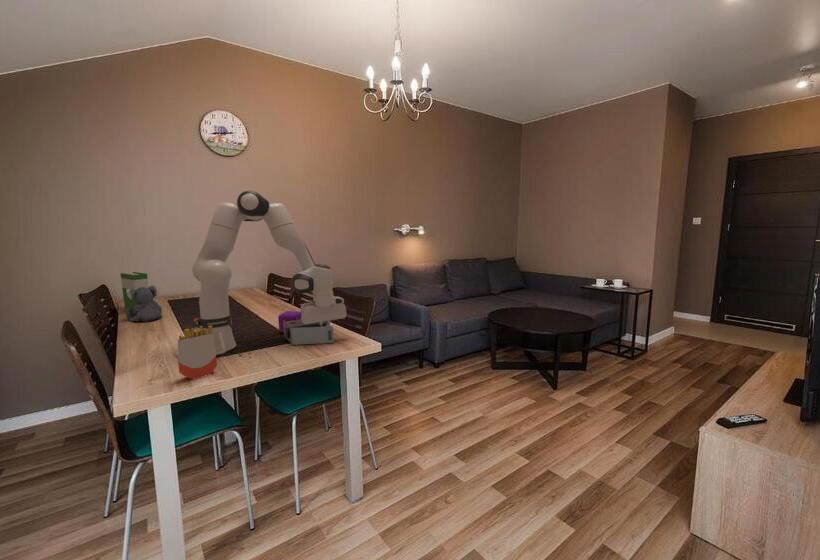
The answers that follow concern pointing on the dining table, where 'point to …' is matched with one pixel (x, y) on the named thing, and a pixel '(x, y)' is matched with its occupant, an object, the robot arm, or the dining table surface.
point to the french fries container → (197, 353)
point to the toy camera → (288, 318)
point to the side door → (312, 335)
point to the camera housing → (298, 325)
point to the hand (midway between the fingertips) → (324, 330)
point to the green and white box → (132, 286)
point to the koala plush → (144, 304)
